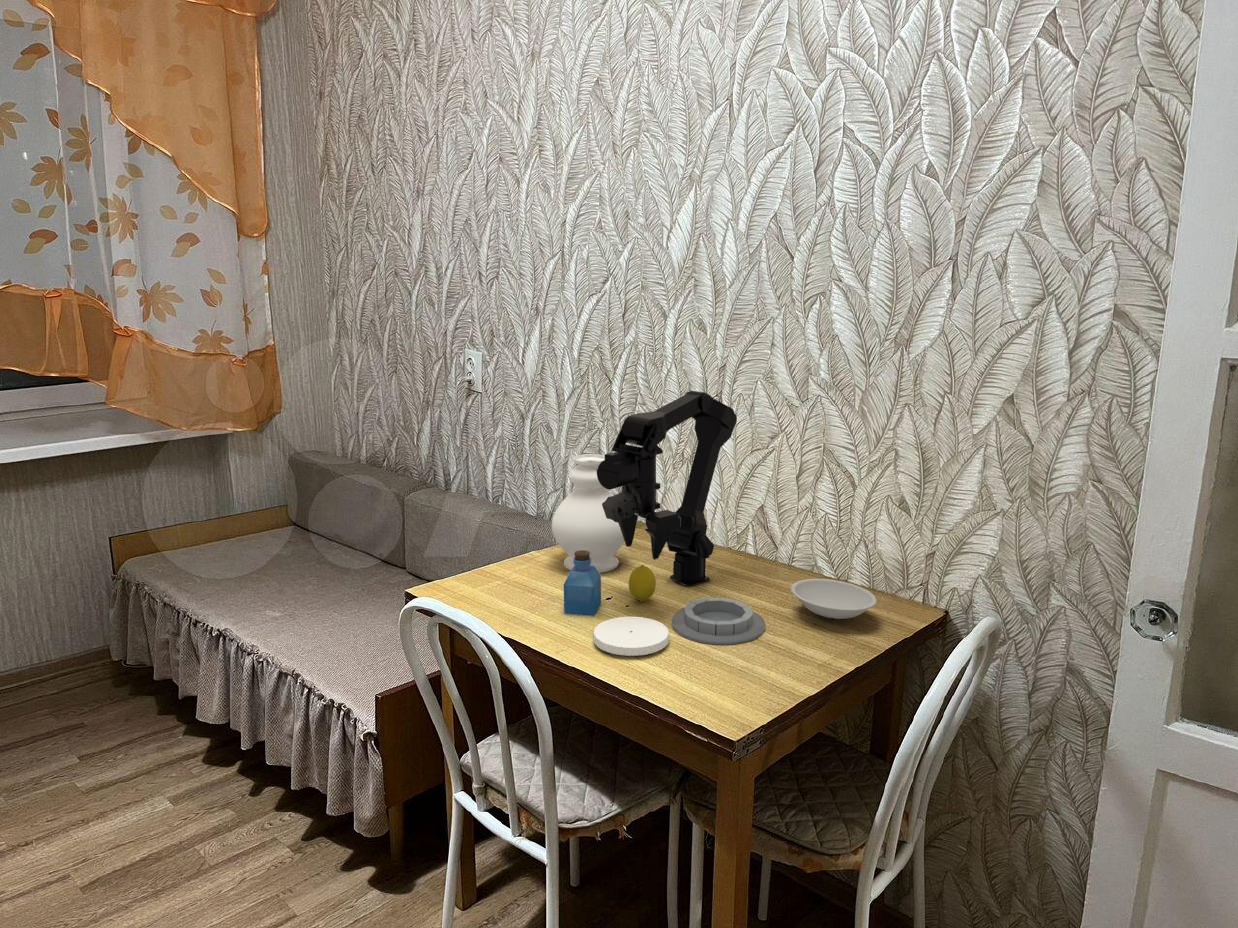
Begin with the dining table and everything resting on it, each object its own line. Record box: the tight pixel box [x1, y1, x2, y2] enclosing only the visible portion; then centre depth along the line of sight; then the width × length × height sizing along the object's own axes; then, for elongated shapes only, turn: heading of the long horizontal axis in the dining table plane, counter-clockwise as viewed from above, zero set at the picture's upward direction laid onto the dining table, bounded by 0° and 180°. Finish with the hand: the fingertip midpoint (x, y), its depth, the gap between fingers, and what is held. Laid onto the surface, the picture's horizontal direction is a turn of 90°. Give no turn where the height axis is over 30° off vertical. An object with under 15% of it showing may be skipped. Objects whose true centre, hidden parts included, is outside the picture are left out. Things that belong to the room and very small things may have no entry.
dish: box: [790, 578, 878, 620], centre depth 187 cm, size 18×14×5 cm
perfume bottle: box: [563, 550, 602, 617], centre depth 191 cm, size 6×6×12 cm
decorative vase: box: [551, 453, 625, 574], centre depth 215 cm, size 18×18×25 cm
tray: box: [671, 597, 766, 646], centre depth 184 cm, size 18×18×3 cm
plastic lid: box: [592, 616, 670, 657], centre depth 176 cm, size 14×14×2 cm
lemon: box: [628, 564, 657, 603], centre depth 195 cm, size 6×6×8 cm
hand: (641, 552), depth 193 cm, fingers open, 9 cm apart
